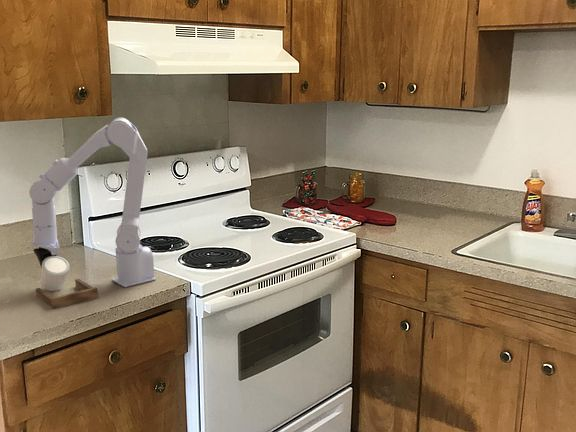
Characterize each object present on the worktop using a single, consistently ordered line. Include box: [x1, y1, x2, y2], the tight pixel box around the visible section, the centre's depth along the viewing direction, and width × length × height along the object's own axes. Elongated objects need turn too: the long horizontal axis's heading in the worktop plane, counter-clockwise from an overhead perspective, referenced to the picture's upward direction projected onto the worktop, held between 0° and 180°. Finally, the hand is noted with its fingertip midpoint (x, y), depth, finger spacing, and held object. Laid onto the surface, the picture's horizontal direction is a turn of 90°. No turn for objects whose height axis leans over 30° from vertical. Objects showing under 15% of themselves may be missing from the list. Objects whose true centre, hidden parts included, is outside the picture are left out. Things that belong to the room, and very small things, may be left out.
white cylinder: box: [40, 256, 71, 292], centre depth 165 cm, size 7×7×7 cm
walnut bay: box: [35, 278, 99, 310], centre depth 160 cm, size 12×12×2 cm
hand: (47, 274), depth 167 cm, fingers closed, pressing on white cylinder
